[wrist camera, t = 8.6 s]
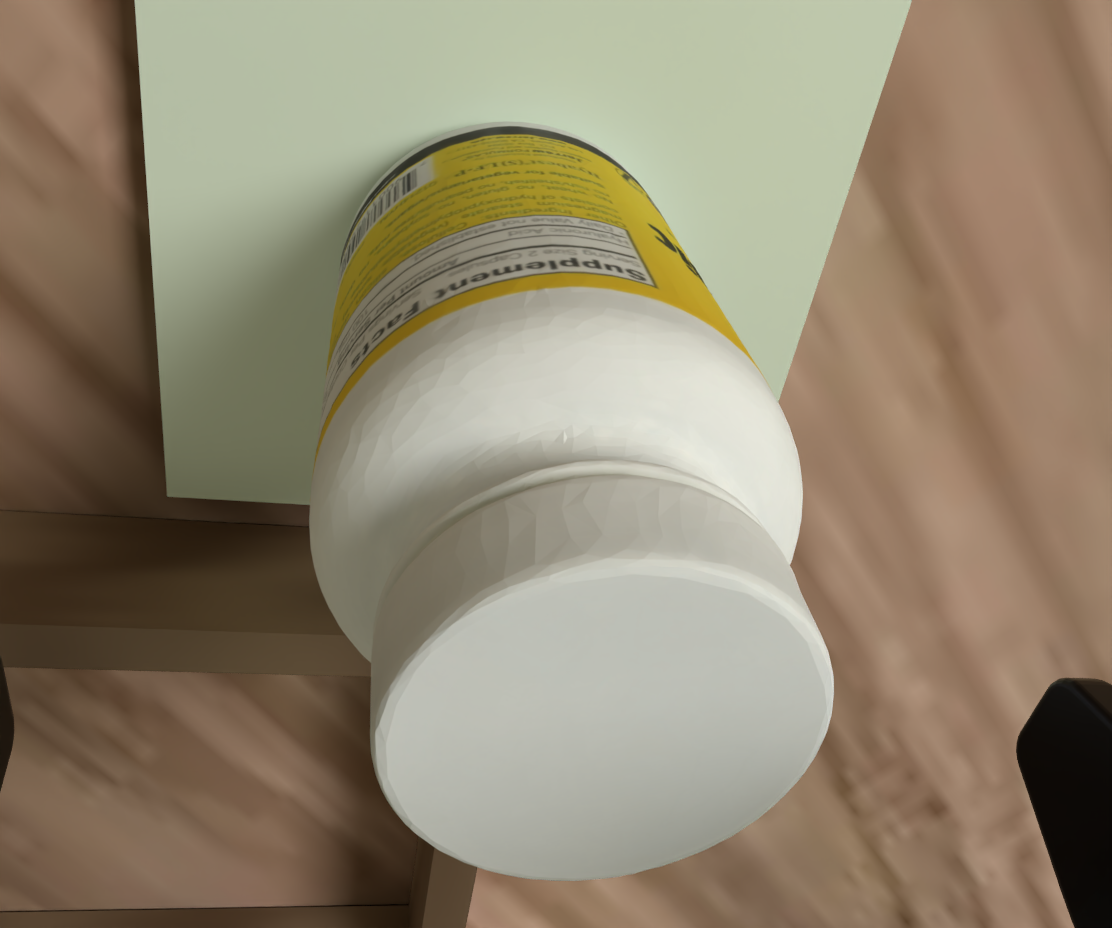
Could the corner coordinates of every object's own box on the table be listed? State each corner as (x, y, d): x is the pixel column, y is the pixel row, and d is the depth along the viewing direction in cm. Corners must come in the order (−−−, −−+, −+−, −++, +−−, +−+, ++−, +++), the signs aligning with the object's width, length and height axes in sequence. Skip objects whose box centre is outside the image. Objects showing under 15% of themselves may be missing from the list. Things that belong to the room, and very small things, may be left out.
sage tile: (895, -7, 15) (911, -1, 15) (728, 512, 20) (735, 530, 20) (136, -140, 13) (126, -138, 12) (173, 477, 18) (166, 496, 18)
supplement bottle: (667, 397, 18) (874, 887, 10) (371, 432, 18) (339, 968, 10) (669, 92, 15) (970, 448, 7) (310, 127, 14) (185, 543, 6)
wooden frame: (508, 538, 20) (521, 641, 18) (441, 925, 28) (444, 1035, 25) (-396, 489, 17) (-533, 605, 15) (-194, 938, 25) (-261, 1065, 22)
